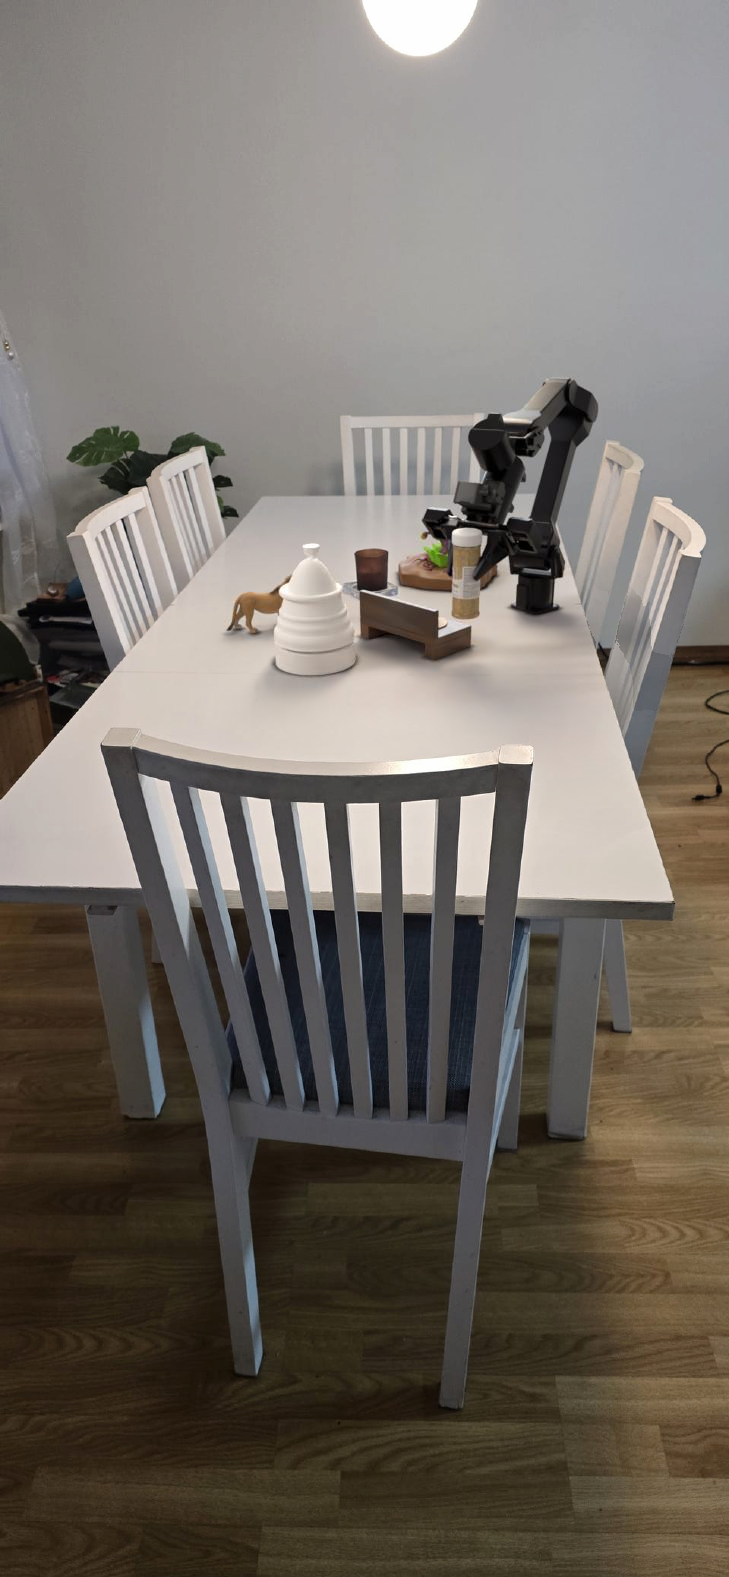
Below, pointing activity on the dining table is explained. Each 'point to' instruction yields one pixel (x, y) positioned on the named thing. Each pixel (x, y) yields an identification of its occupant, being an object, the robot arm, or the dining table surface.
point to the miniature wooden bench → (412, 624)
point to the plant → (432, 569)
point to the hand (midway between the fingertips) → (461, 577)
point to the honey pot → (313, 622)
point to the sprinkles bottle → (465, 573)
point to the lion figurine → (256, 606)
